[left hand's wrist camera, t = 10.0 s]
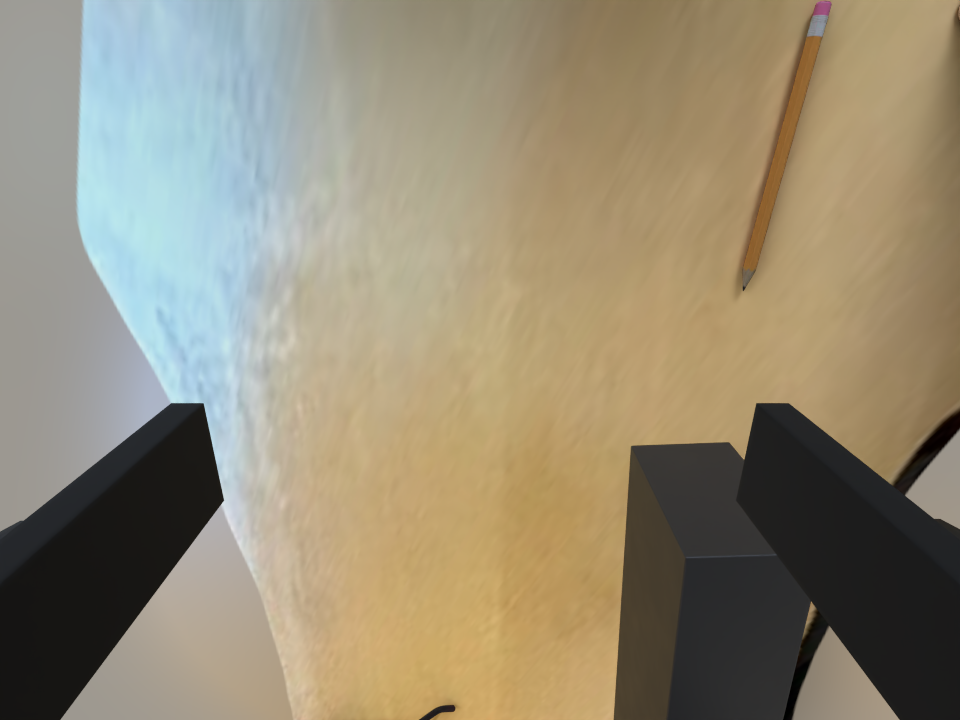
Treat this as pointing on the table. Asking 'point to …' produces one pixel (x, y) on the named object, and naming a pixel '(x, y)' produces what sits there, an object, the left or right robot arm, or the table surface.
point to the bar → (701, 595)
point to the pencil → (786, 136)
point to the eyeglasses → (438, 711)
